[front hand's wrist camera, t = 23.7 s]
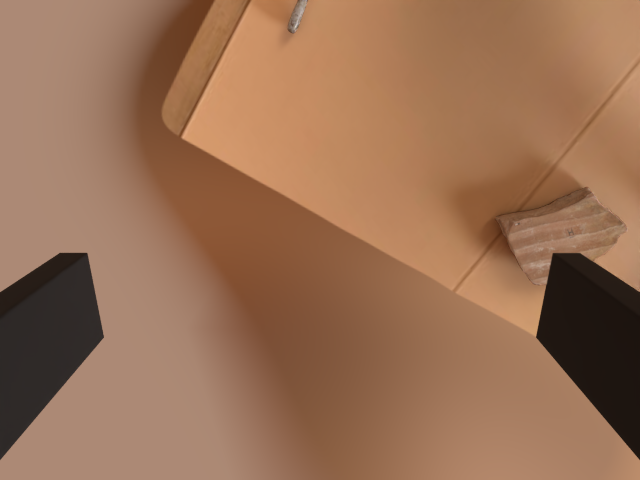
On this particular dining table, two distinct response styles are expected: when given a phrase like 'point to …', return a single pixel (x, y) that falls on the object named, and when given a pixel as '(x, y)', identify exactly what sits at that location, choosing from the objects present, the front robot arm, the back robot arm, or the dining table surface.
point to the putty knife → (297, 16)
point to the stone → (560, 232)
